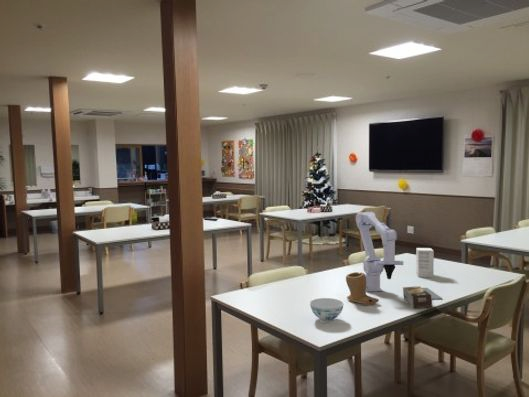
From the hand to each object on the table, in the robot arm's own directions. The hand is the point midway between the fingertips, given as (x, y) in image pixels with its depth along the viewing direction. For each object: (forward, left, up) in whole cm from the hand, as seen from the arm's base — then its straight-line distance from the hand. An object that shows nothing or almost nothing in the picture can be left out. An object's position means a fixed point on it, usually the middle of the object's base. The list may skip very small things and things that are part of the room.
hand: (388, 278), depth 227 cm
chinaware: (-38, -31, -10) cm, 50 cm away
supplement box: (+36, +43, -10) cm, 57 cm away
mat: (+21, +5, -10) cm, 23 cm away
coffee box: (+11, -3, -7) cm, 13 cm away
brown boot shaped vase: (-17, -7, -10) cm, 21 cm away
